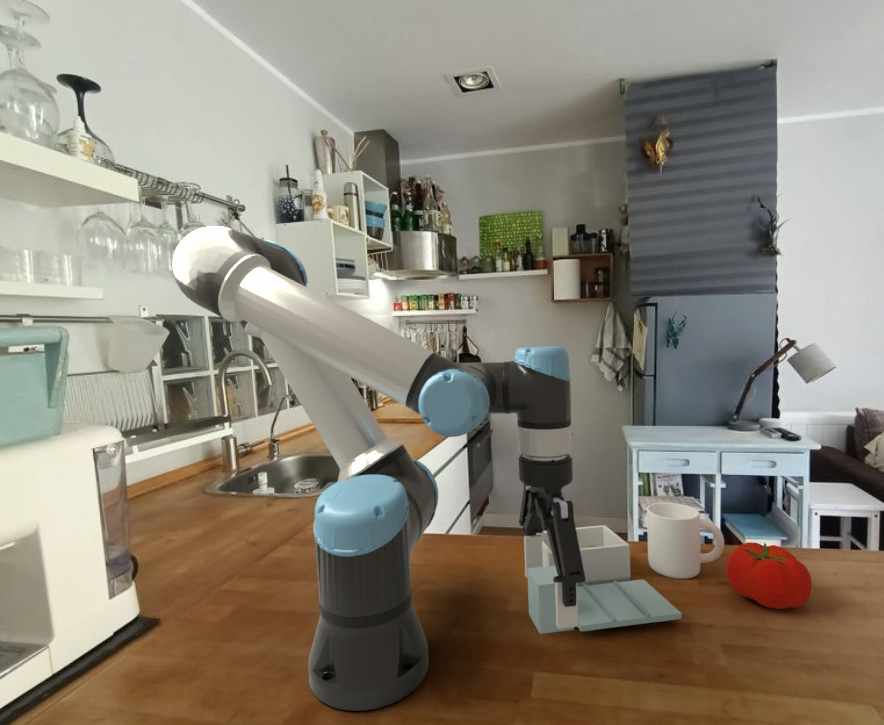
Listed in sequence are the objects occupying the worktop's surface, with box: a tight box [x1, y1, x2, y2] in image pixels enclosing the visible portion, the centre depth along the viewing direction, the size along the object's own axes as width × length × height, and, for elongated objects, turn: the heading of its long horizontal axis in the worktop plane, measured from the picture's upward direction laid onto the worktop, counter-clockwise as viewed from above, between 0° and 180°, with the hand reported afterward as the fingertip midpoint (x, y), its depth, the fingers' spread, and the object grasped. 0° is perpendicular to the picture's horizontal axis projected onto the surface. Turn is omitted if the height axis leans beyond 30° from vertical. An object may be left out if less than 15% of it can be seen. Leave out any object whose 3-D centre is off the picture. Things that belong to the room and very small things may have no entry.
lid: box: [527, 566, 682, 635], centre depth 72 cm, size 10×20×7 cm, turn 98°
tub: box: [536, 524, 631, 587], centre depth 85 cm, size 9×14×6 cm, turn 98°
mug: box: [646, 502, 725, 580], centre depth 84 cm, size 12×8×10 cm
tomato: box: [725, 542, 813, 610], centre depth 74 cm, size 11×11×8 cm
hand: (549, 599), depth 71 cm, fingers open, 13 cm apart
